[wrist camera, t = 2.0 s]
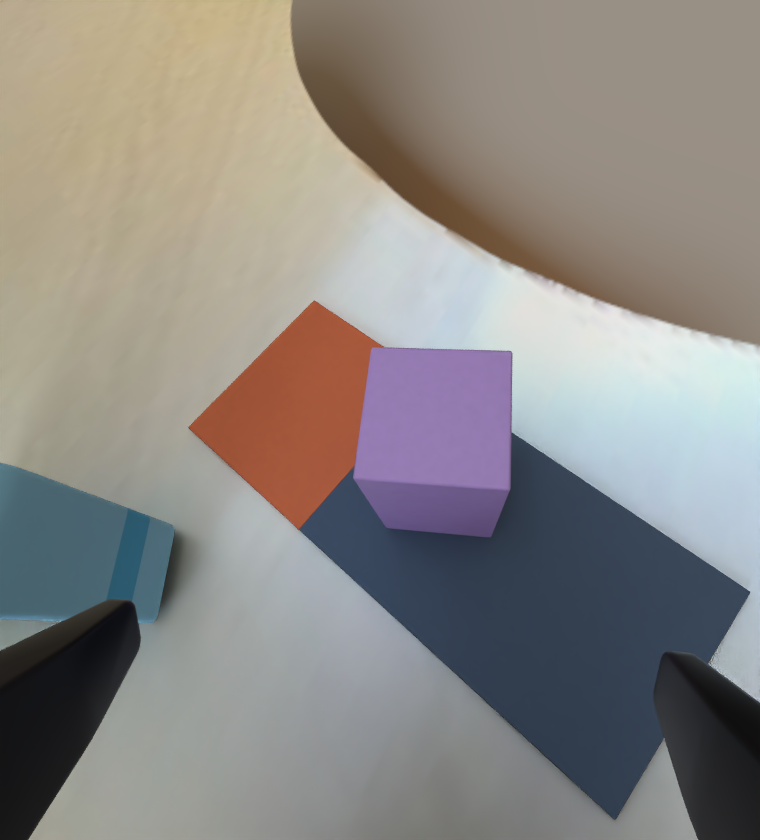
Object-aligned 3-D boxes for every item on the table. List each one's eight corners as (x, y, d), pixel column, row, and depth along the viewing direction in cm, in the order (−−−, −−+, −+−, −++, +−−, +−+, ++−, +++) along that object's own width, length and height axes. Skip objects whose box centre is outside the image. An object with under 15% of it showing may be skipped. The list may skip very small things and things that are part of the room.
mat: (746, 592, 21) (750, 591, 20) (613, 817, 18) (615, 820, 18) (315, 303, 30) (314, 300, 30) (190, 429, 28) (187, 427, 27)
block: (491, 538, 23) (510, 490, 15) (385, 528, 24) (352, 478, 16) (494, 437, 25) (512, 350, 17) (396, 432, 25) (370, 346, 18)
